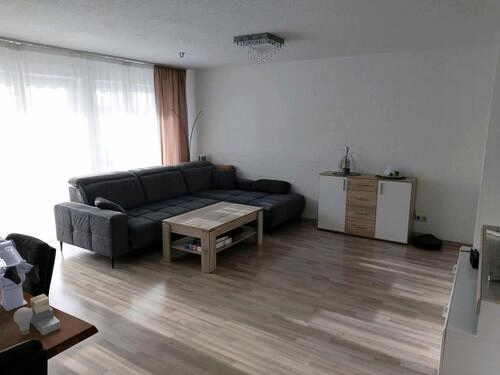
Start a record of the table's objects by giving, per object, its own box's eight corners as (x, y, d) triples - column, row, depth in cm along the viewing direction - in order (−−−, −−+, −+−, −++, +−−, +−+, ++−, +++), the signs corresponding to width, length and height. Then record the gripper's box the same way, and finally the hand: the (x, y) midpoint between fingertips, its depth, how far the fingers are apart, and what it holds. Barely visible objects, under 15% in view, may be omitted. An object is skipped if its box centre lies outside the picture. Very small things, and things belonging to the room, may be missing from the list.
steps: (29, 321, 146) (27, 309, 145) (47, 314, 151) (45, 302, 150) (43, 335, 137) (41, 322, 136) (60, 327, 142) (59, 314, 141)
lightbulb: (26, 340, 134) (22, 313, 132) (12, 338, 136) (8, 311, 133) (39, 330, 140) (35, 305, 138) (25, 328, 141) (21, 303, 139)
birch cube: (31, 310, 144) (30, 298, 143) (45, 305, 148) (43, 293, 147) (36, 314, 141) (34, 302, 140) (50, 309, 145) (48, 297, 144)
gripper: (1, 252, 143) (15, 274, 137) (35, 254, 156) (50, 274, 150) (-8, 267, 144) (6, 289, 137) (27, 267, 156) (41, 287, 150)
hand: (28, 282), depth 143 cm, fingers open, 7 cm apart
